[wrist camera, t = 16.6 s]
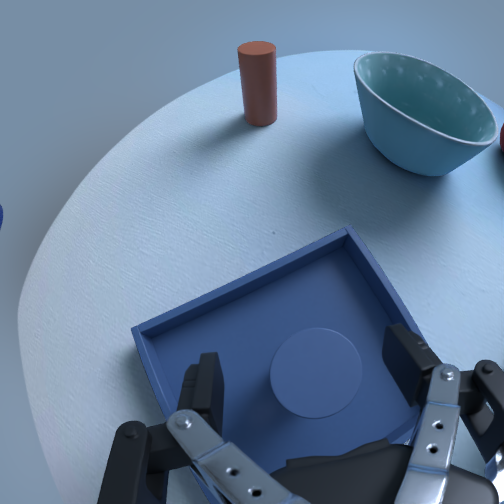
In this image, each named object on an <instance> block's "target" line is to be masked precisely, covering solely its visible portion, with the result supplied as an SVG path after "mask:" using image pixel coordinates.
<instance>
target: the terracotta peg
mask: <svg viewBox="0 0 504 504" xmlns="http://www.w3.org/2000/svg"><path fill="white" fill-rule="evenodd" d="M238 58H239V67H240V76H241V86H242V95H243V104H244V113H245V119H246V121H247V122H248V123H249V124H251V125H254V126H266V125H270V124H272V123H273V122H275V120H276V119H277V78H276V47H275V46H274V45H273V44H271V43H269V42H264V41H253V42H248V43H244V44H242V45H241V46H239V47H238Z"/></svg>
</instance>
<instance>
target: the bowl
mask: <svg viewBox="0 0 504 504" xmlns="http://www.w3.org/2000/svg"><path fill="white" fill-rule="evenodd" d="M354 74H355V79H356V85H357V90H358V95H359V101H360V106H361V110H362V115H363V121H364V127H365V131H366V133H367V135H368V137H369V139H370V140H371V142H372V143H373V145H374V146H375V147H376V148H377V149H378V150H379V151H380V152H381V153H382V154H383V155H384V156H385V157H386V158H387V159H389V160H390V161H391V162H393V163H394V164H396V165H397V166H399V167H401V168H403V169H405V170H408V171H410V172H413V173H417V174H421V175H426V176H441V175H445V174H447V173H449V172H451V171H453V170H454V169H456V168H457V167H459V166H461V165H462V164H464V163H465V162H467V161H468V160H470V159H471V158H473V157H474V156H476V155H477V154H479V153H480V152H481V151H483V150H484V149H485V148H487V147H488V146H489V145H491V144H492V143H493V142H494V141H495V140H496V139H497V136H498V125H497V122H496V119H495V117H494V115H493V113H492V111H491V110H490V108H489V107H488V105H487V104H486V103H485V102H484V100H483V99H482V98H481V97H480V96H479V95H478V94H477V93H476V92H475V91H474V90H473V89H472V88H470V87H469V86H468V85H467V84H465V83H464V82H463V81H461V80H460V79H459V78H457V77H456V76H454V75H453V74H451V73H449V72H447V71H446V70H444V69H442V68H440V67H438V66H436V65H434V64H432V63H430V62H427V61H424V60H422V59H419V58H416V57H413V56H409V55H404V54H400V53H393V52H371V53H367V54H364V55H362V56H360V57H359V58H357V59H356V61H355V62H354Z"/></svg>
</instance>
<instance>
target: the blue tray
mask: <svg viewBox="0 0 504 504" xmlns="http://www.w3.org/2000/svg"><path fill="white" fill-rule="evenodd" d="M399 323H401V324H402V325H403V326H404V327H405V328H406V329H407V331H413V332H414V333H416V334H418V335H420V337H421V338H422V339H423V340H424V341H425V343H426V344H427V342H426V340H425V339H424V337H423V335H422V333H421V332H420V330H419V328H418V326H417V325H416V323H415V321H414V320H413V318H412V316H411V315H410V313H409V311H408V310H407V308H406V306H405V305H404V303H403V302H402V300H401V298H400V297H399V295H398V294H397V292H396V290H395V289H394V287H393V286H392V284H391V283H390V281H389V280H388V278H387V276H386V275H385V273H384V272H383V270H382V269H381V267H380V266H379V264H378V263H377V261H376V260H375V259H374V257H373V256H372V254H371V253H370V251H369V250H368V248H367V247H366V245H365V244H364V243H363V241H362V240H361V238H360V237H359V236H358V234H357V233H356V231H355V230H354V229H353V227H352V226H351V225H348V226H346V227H344V228H342V229H340V230H338V231H336V232H334V233H332V234H330V235H328V236H326V237H324V238H322V239H320V240H318V241H316V242H314V243H311V244H309V245H307V246H305V247H303V248H301V249H299V250H297V251H295V252H293V253H291V254H289V255H287V256H285V257H283V258H281V259H278V260H276V261H274V262H272V263H270V264H268V265H266V266H264V267H262V268H260V269H258V270H256V271H253V272H251V273H249V274H247V275H245V276H243V277H241V278H239V279H237V280H234V281H232V282H230V283H228V284H226V285H224V286H222V287H220V288H217V289H215V290H213V291H211V292H209V293H207V294H205V295H202V296H200V297H198V298H196V299H194V300H192V301H190V302H187V303H185V304H183V305H181V306H179V307H177V308H174V309H172V310H170V311H168V312H166V313H163V314H161V315H159V316H157V317H155V318H152V319H150V320H148V321H146V322H144V323H141V324H139V325H138V326H135V327H133V328H131V331H132V334H133V337H134V340H135V343H136V346H137V349H138V352H139V355H140V358H141V360H142V363H143V366H144V368H145V371H146V374H147V376H148V379H149V381H150V384H151V386H152V389H153V391H154V394H155V396H156V398H157V401H158V403H159V405H160V408H161V410H162V412H163V415H164V417H165V419H166V421H167V420H168V418H169V416H170V415H172V414H173V413H174V412H176V410H177V406H178V401H179V397H180V392H181V388H182V383H183V379H184V375H185V371H186V370H187V369H188V367H189V366H190V365H191V364H199V360H200V355H201V353H207V352H217V353H218V356H219V360H220V364H221V368H222V372H223V377H224V385H225V390H224V407H223V425H222V439H223V440H224V441H226V442H227V441H231V442H232V443H234V444H235V445H236V446H237V447H238V448H239V449H240V450H241V451H242V452H243V453H244V454H246V455H247V456H248V457H249V458H250V459H251V460H252V461H253V462H255V463H256V464H257V465H258V466H259V467H260V468H262V469H263V470H264V471H265V472H266V473H267V474H270V473H272V472H274V471H276V470H278V469H280V468H283V467H285V466H286V460H287V459H294V458H300V457H307V456H339V455H343V454H345V453H347V452H349V451H351V450H353V449H355V448H357V447H359V446H361V445H363V444H366V443H370V442H374V441H377V440H380V439H384V438H387V439H388V441H389V444H403V443H405V442H406V441H407V440H409V439H410V438H411V436H412V433H413V430H414V427H415V423H416V420H417V417H418V413H419V410H420V406H419V405H417V406H414V407H411V408H410V406H409V405H408V403H407V401H406V399H405V398H404V396H403V394H402V393H401V391H400V389H399V387H398V386H397V384H396V382H395V381H394V379H393V377H392V376H391V374H390V372H389V371H388V369H387V367H386V366H385V364H384V362H383V359H382V347H383V340H384V332H385V328H386V326H390V325H394V324H399ZM309 328H326V329H330V330H333V331H336V332H338V333H340V334H342V335H343V336H345V337H346V338H347V339H348V340H349V341H350V342H351V343H352V344H353V345H354V347H355V348H356V350H357V352H358V354H359V356H360V359H361V363H362V381H361V385H360V388H359V390H358V392H357V394H356V396H355V397H354V399H353V400H352V402H351V403H350V404H349V405H348V406H347V407H346V408H344V409H343V410H342V411H340V412H339V413H337V414H335V415H333V416H330V417H327V418H322V419H306V418H302V417H299V416H296V415H294V414H292V413H290V412H289V411H287V410H286V409H285V408H283V407H282V406H281V405H280V403H279V402H278V401H277V400H276V398H275V396H274V394H273V392H272V390H271V386H270V381H269V369H270V364H271V360H272V358H273V355H274V353H275V352H276V350H277V349H278V347H279V346H280V345H281V344H282V343H283V342H284V341H285V340H286V339H287V338H288V337H290V336H291V335H293V334H294V333H297V332H299V331H301V330H305V329H309ZM427 345H428V344H427ZM190 469H191V468H190ZM191 471H192V469H191ZM192 473H193V475H194V477H195V478H196V480H197V482H198V484H199V485H200V487H201V489H202V490H203V492H204V494H205V496H206V497H207V499H208V500H209V502H210V504H220V503H219V501H218V500H217V499H216V498H215V496H214V495H213V494H212V493H211V491H210V490H209V489H208V488H207V487H206V486H205V485H204V484H203V482H202V481H201V480H200V479H199V478H198V477H197V475H196V474H195V473H194V472H193V471H192Z"/></svg>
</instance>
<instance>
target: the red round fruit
mask: <svg viewBox="0 0 504 504" xmlns="http://www.w3.org/2000/svg"><path fill="white" fill-rule="evenodd" d="M500 145H501V148H502V151H503V152H504V124H503V126H502V128H501V132H500Z"/></svg>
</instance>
